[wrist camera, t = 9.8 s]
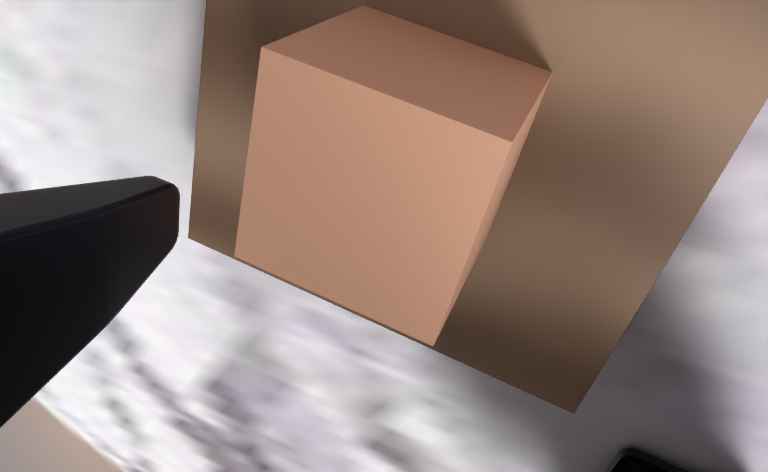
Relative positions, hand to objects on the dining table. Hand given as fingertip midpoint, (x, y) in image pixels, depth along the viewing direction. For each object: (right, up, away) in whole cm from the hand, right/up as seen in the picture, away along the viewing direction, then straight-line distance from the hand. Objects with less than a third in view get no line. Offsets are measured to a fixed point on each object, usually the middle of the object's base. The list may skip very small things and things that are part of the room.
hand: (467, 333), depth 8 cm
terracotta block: (0, +4, +9) cm, 10 cm away
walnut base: (+1, +5, +11) cm, 12 cm away
